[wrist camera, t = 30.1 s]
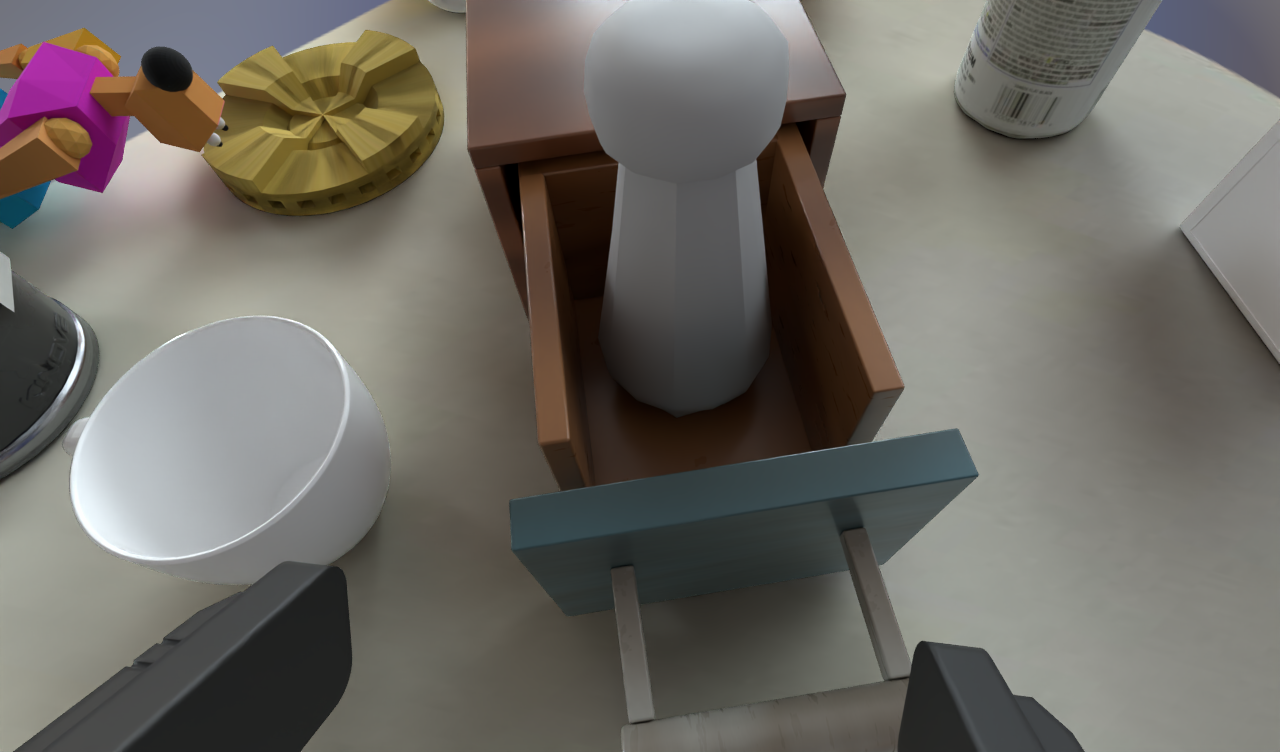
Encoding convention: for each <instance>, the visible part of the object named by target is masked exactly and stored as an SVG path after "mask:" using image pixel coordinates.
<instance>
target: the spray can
mask: <svg viewBox="0 0 1280 752" xmlns="http://www.w3.org/2000/svg"><path fill="white" fill-rule="evenodd" d="M1161 2H1162V0H986V3H985V5H984V8H983V10H982V13H981V15H980V17H979V20H978V22H977V25H976V27H975V30H974V32H973V35H972V37H971V40H970V42H969V45H968V47H967V49H966V52H965V54H964V57H963V59H962V62H961V64H960V67H959V69H958V72H957V76H956V80H955V86H954V95H955V99H956V101H957V103H958V105H959V106H960V107H961V109H962V110H963V112H964V113H965V114H966V115H968V116H969V117H971V118H972V119H974V120H976V121H977V122H979V123H980V124H981V125H983V126H984V127H985V128H987V129H990V130H992V131H995V132H998V133H1001V134H1004V135H1006V136H1009V137H1013V138H1045V137H1052V136H1055V135H1059V134H1063V133H1066V132H1068V131H1070V130H1071V129H1073V128H1074V127H1075V126H1077V125H1078V124H1079V123H1081V122H1082V121H1083V119H1084V118H1085V117H1086V116H1087V115H1088V114H1089V113H1090V112H1091V111H1092V109H1093V108H1094V106H1095V105H1096V103H1097V102H1098V100H1099V99H1100V97H1101V96H1102V94H1103V92H1104V91H1105V89H1106V88H1107V86H1108V84H1109V83H1110V81H1111V80H1112V78H1113V77H1114V75H1115V74H1116V72H1117V70H1118V69H1119V67H1120V66H1121V64H1122V63H1123V61H1124V59H1125V58H1126V56H1127V55H1128V53H1129V52H1130V50H1131V48H1132V47H1133V45H1134V44H1135V42H1136V41H1137V39H1138V38H1139V36H1140V35H1141V33H1142V31H1143V30H1144V28H1145V27H1146V25H1147V24H1148V22H1149V20H1150V19H1151V17H1152V16H1153V14H1154V12H1155V11H1156V9H1157V8H1158V6H1159V5H1160V3H1161Z"/></svg>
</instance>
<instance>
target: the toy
mask: <svg viewBox="0 0 1280 752" xmlns="http://www.w3.org/2000/svg"><path fill="white" fill-rule="evenodd" d="M120 58H121V56H120V55H118V54H117V53H116V52H115V51H113V50H112V49H111V48H109V47H108V46H107V45H106V44H104V43H103V42H102V41H101V40H99V39H98V38H97V37H95V36H94V35H93V34H92V33H90V32H89V31H88V30H87V29H85V28H82V29H80V30H77V31H74V32H71V33H68V34H65V35H62V36H60V37H57V38H54V39H51V40H48V41H46V42H42V43H40V44H37V45H34V46H31V47H29V48H27V47H25V46H24V45H22V44H19V45H15V46H13V47H10V48H7V49H4V50H1V51H0V77H1V78H14V79H17V81H16V82H15V84H14V85H13V86H12V88H11V89H10V91H9V93H8V94H7V93H6V92H4V91H3V90H2V89H0V222H2V223H3V224H5V225H7V226H9V227H10V228H12V229H13V228H14V227H16V226H17V225H18V224H20V223H21V222H22V221H24V220H25V219H27V218H28V217H29V216H31V215H32V214H33V213H35V212H36V211H38V210H39V208H40V206H41V203H42V201H43V199H44V196H45V194H46V191H47V189H48V187H49V184H50V182H51V180H53V179H55V180H56V181H58V182H61V183H65V184H69V185H73V186H77V187H81V188H85V189H89V190H93V191H97V192H101V193H103V191H104V190H105V188H106V186H107V185H108V183H109V181H110V180H111V178H112V176H113V175H114V173H115V171H116V170H117V168H118V166H119V165H120V163H121V162H122V159H123V153H124V147H125V142H126V136H127V130H128V124H129V119H130V116H135V117H136V118H137V119H138V120H139V121H140V122H141V123H142V124H143V125H144V126H145V127H146V129H147V130H148V131H149V132H150V133H151V134H152V135H153V136H154V137H155V138H156V139H157V140H158V141H159V142H160V143H164V144H168V145H172V146H176V147H181V148H185V149H189V150H193V151H197V152H200V151H201V149H202V148H203V146H204V145H205V144H206V142H207V143H208V144H209V145H211V146H217V147H222V145H223V143H222V142H221V139H220V137H219V136H218V135H217V134H216V133H213V132H214V131H215V129H222V130H224V131H227V130H228V129H229V128H228V126H227V125H225V121H224V120H223V119H222V118H221V113H222V109H223V106H224V102H225V101H224V100H223V99H222V98H221V97H220V96H219V95H218V94H217V93H216V92H215V91H214V90H213V89H212V88H211V87H210V86H208V85H207V84H206V83H205V82H204V81H203V80H202V79H201V78H200V77H199V76H198V75H197V74H196V73H195V72H194V71H193V70H192V68H191V65H190V63H189V62H188V60H187V59H186V58H185V57H184V56H183V55H182V54H181V53H179V52H177V51H176V50H173V49H171V48H167V47H154V48H151V49H149V50H148V51H147V52H146V53H145V54H144V55H143V58H142V61H141V67H140V69H139V71H138V74H137V75H136V77H118V75H119V66H118V62H119V60H120Z"/></svg>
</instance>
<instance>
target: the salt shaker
mask: <svg viewBox="0 0 1280 752" xmlns="http://www.w3.org/2000/svg"><path fill="white" fill-rule="evenodd" d="M788 77H789V53H788V41H787V40H786V38H785V37H784V36H783V34H782V33H781V32H780V30H779V29H778V27H777V26H776V25H775V23H774V22H773V21H772V19H771V18H770V17H769V16H768V15H767V14H766V13H765V12H764V11H763V10H762V9H761V8H760V7H759V6H758V5H756V4H755V3H753V2H751V1H749V0H629V1H628V2H626V3H625V4H624V5H623V6H622V7H620V8H619V9H618V10H617V11H616V12H615V13H613V14H612V15H611V16H610V17H609V18H607V19H606V20H605V21H604V23H603V24H602V25H601V26H600V27H599V28H598V29H597V30H596V32H595V33H594V34H593V37H592V40H591V44H590V47H589V50H588V53H587V57H586V60H585V78H584V92H585V97H586V102H587V106H588V111H589V116H590V118H591V121H592V124H593V126H594V129H595V131H596V134H597V137H598V139H599V142H600V144H601V146H602V147H603V149H604V151H605V152H606V154H608V155H609V156H610V157H612V158H613V159H615V160H616V161H617V162H619V165H618V175H617V186H616V196H615V207H614V217H613V227H612V236H611V244H610V251H609V259H608V267H607V274H606V282H605V290H604V297H603V305H602V312H601V320H600V328H599V335H598V339H599V343H600V346H601V349H602V353H603V356H604V359H605V362H606V366H607V369H608V371H609V373H610V375H611V377H612V378H613V379H614V380H615V381H616V382H617V383H619V384H620V385H621V386H622V387H623V388H624V389H625V390H626V391H627V392H628V393H630V394H631V395H632V396H633V397H634V398H635V399H636V400H637V401H640V402H643V403H646V404H649V405H651V406H654V407H657V408H660V409H662V410H664V411H666V412H668V413H669V414H671V415H673V416H674V417H676V418H678V417H681V416H685V415H688V414H692V413H695V412H698V411H703V410H710V409H714V408H716V407H718V406H720V405H722V404H725V403H727V402H729V401H731V400H732V399H734V398H736V397H738V396H740V395H741V394H743V393H745V392H746V391H747V390H748V388H749V387H750V385H751V384H752V382H753V381H754V379H755V377H756V376H757V374H758V373H759V371H760V370H761V368H762V367H763V365H764V364H765V362H766V360H767V359H768V357H769V351H770V340H771V329H772V318H771V308H770V297H769V287H768V276H767V266H766V255H765V245H764V234H763V224H762V213H761V203H760V192H759V182H758V171H757V161H756V158H757V157H758V156H759V155H760V154H761V152H762V151H763V150H764V149H765V147H766V146H767V145H768V144H769V142H770V141H771V140H772V139H773V137H774V136H775V134H776V133H777V131H778V129H779V128H780V126H781V121H782V117H783V113H784V109H785V105H786V100H787V89H788Z"/></svg>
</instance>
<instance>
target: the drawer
mask: <svg viewBox="0 0 1280 752" xmlns="http://www.w3.org/2000/svg"><path fill="white" fill-rule="evenodd" d="M756 161H757V171H758V182H759V192H760V203H761V213H762V224H763V234H764V245H765V255H766V266H767V276H768V287H769V297H770V308H771V318H772V329H771V340H770V351H769V357H768V359H767V360H766V362H765V364H764V365H763V367H762V368H761V370H760V371H759V373H758V374H757V376H756V377H755V379H754V381H753V382H752V384H751V385H750V387H749V388H748V390H747V391H746V392H745V393H743V394H741V395H740V396H738V397H736V398H734V399H732V400H731V401H729V402H727V403H725V404H722V405H720V406H718V407H716V408H714V409H710V410H703V411H698V412H695V413H692V414H688V415H685V416H681V417H678V418H676V417H674V416H673V415H671V414H669V413H668V412H666V411H664V410H662V409H660V408H657V407H654V406H651V405H649V404H646V403H643V402H640V401H637V400H636V399H635V398H634V397H633V396H632V395H631V394H630V393H628V392H627V391H626V390H625V389H624V388H623V387H622V386H621V385H620V384H619V383H617V382H616V381H615V380H614V379H613V378H612V377H611V375H610V373H609V371H608V369H607V366H606V362H605V359H604V356H603V353H602V349H601V346H600V343H599V339H598V335H599V328H600V320H601V312H602V305H603V297H604V290H605V282H606V274H607V267H608V259H609V251H610V244H611V236H612V227H613V217H614V207H615V196H616V186H617V175H618V165H619V162H617V161H616V160H615V159H613V158H612V157H610V156H609V155H608V154H606V152H605V151H604V150H602V151H595V152H588V153H581V154H575V155H568V156H561V157H554V158H547V159H540V160H533V161H527V162H520V163H518V172H519V185H520V199H521V213H522V227H523V241H524V255H525V269H526V283H527V297H528V311H529V325H530V339H531V353H532V367H533V381H534V395H535V409H536V423H537V437H538V445H539V447H540V449H541V451H542V453H543V455H544V458H545V460H546V462H547V464H548V466H549V468H550V470H551V473H552V475H553V477H554V479H555V481H556V483H557V486H558V488H559V490H560V492H554V493H548V494H542V495H536V496H529V497H523V498H517V499H511V500H510V501H509V507H510V530H511V550H512V552H513V553H514V554H515V555H516V556H517V558H518V559H519V560H520V561H521V562H522V564H523V565H524V566H525V567H526V568H527V570H528V571H529V572H530V573H531V574H532V575H533V577H534V578H535V579H536V580H537V581H538V583H539V584H540V585H541V586H542V587H543V589H544V590H545V591H546V592H547V593H548V594H549V596H550V597H551V598H552V599H553V600H554V602H555V603H556V604H557V605H558V606H559V608H560V609H561V610H562V611H563V612H564V613H565V615H566V616H574V615H580V614H586V613H593V612H599V611H605V610H611V609H615V613H616V621H617V630H618V638H619V646H620V654H621V663H622V671H623V679H624V687H625V696H626V704H627V712H628V720H629V722H630V723H631V724H629V725H624V726H623V727H622V729H621V747H622V752H897V749H898V737H899V731H900V725H901V720H902V715H903V709H904V704H905V699H906V693H907V688H908V682H909V677H910V672H911V666H912V665H911V662H910V659H909V656H908V653H907V650H906V647H905V644H904V641H903V638H902V635H901V632H900V629H899V626H898V623H897V620H896V617H895V614H894V611H893V608H892V605H891V602H890V599H889V596H888V593H887V590H886V587H885V584H884V581H883V578H882V575H881V572H880V569H879V566H878V565H883V564H884V563H885V562H887V561H888V560H889V559H890V558H891V557H892V556H893V555H894V554H895V553H896V552H897V551H898V550H899V549H901V548H902V547H903V546H904V545H905V544H906V543H907V542H908V541H909V540H910V539H911V538H912V537H913V536H914V535H916V534H917V533H918V532H919V531H920V530H921V529H922V528H923V527H924V526H925V525H926V524H927V523H928V522H930V521H931V520H932V519H933V518H934V517H935V516H936V515H937V514H938V513H939V512H940V511H941V510H942V509H944V508H945V507H946V506H947V505H948V504H949V503H950V502H951V501H952V500H953V499H954V498H955V497H956V496H957V495H959V494H960V493H961V492H962V491H963V490H964V489H965V488H966V487H967V486H968V485H969V484H970V483H971V482H973V481H974V480H975V479H976V478H977V477H978V472H977V470H976V467H975V465H974V463H973V461H972V459H971V456H970V454H969V452H968V450H967V447H966V445H965V443H964V441H963V438H962V436H961V434H960V432H959V429H957V428H956V429H950V430H943V431H937V432H931V433H924V434H918V435H912V436H906V437H899V438H893V439H887V440H881V441H874V442H872V440H873V439H874V437H875V435H876V434H877V432H878V430H879V429H880V427H881V426H882V424H883V422H884V421H885V419H886V417H887V416H888V414H889V413H890V411H891V409H892V408H893V406H894V404H895V403H896V401H897V399H898V398H899V396H900V395H901V393H902V391H903V390H904V384H903V382H902V379H901V377H900V374H899V372H898V369H897V367H896V365H895V362H894V360H893V357H892V355H891V353H890V350H889V348H888V345H887V343H886V340H885V338H884V336H883V333H882V331H881V328H880V326H879V323H878V321H877V319H876V316H875V314H874V311H873V309H872V307H871V304H870V302H869V299H868V297H867V294H866V292H865V290H864V287H863V285H862V282H861V280H860V277H859V275H858V273H857V270H856V268H855V265H854V263H853V261H852V258H851V256H850V253H849V251H848V248H847V246H846V244H845V241H844V239H843V236H842V234H841V232H840V229H839V227H838V224H837V222H836V219H835V217H834V215H833V212H832V210H831V207H830V205H829V202H828V200H827V198H826V195H825V193H824V190H823V188H822V186H821V183H820V181H819V178H818V176H817V173H816V171H815V169H814V166H813V164H812V161H811V159H810V156H809V154H808V152H807V149H806V147H805V144H804V142H803V140H802V137H801V135H800V132H799V130H798V127H797V125H796V123H795V122H794V123H787V124H781V126H780V128H779V129H778V131H777V133H776V134H775V136H774V137H773V139H772V140H771V141H770V142H769V144H768V145H767V146H766V147H765V149H764V150H763V151H762V152H761V154H760V155H759V156H758V157H757V158H756ZM848 570H849V571H850V574H851V577H852V580H853V584H854V587H855V590H856V593H857V597H858V600H859V603H860V606H861V609H862V613H863V616H864V619H865V622H866V626H867V629H868V632H869V635H870V639H871V642H872V645H873V648H874V651H875V655H876V658H877V661H878V664H879V668H880V671H881V674H882V677H883V679H884V681H882V682H876V683H871V684H865V685H859V686H853V687H847V688H841V689H835V690H829V691H823V692H817V693H812V694H806V695H800V696H794V697H788V698H782V699H776V700H770V701H764V702H758V703H753V704H747V705H741V706H735V707H729V708H723V709H717V710H711V711H705V712H699V713H693V714H688V715H682V716H676V717H670V718H664V719H658V720H655V710H654V703H653V696H652V689H651V682H650V675H649V668H648V661H647V653H646V646H645V639H644V632H643V625H642V618H641V611H640V605H641V604H647V603H653V602H659V601H665V600H672V599H678V598H684V597H690V596H696V595H702V594H708V593H714V592H720V591H726V590H732V589H738V588H744V587H751V586H757V585H763V584H769V583H775V582H781V581H787V580H793V579H799V578H805V577H811V576H817V575H823V574H830V573H836V572H842V571H848Z"/></svg>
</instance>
